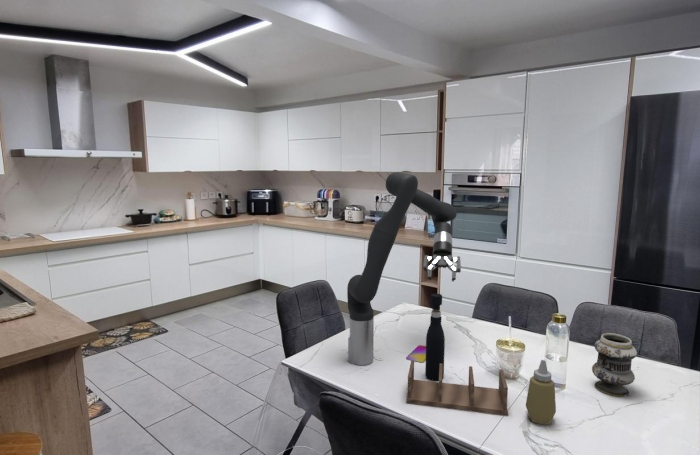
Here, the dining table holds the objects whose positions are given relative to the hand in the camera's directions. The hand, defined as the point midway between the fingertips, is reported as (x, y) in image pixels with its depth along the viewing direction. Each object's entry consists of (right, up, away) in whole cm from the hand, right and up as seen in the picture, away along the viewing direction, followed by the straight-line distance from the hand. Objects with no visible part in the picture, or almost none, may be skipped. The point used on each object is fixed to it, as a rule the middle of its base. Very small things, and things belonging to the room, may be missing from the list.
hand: (441, 279), depth 157 cm
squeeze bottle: (+21, -36, -37) cm, 56 cm away
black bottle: (-5, -33, -11) cm, 36 cm away
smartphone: (-7, -31, +7) cm, 33 cm away
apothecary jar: (+53, -34, -20) cm, 66 cm away
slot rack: (-1, -35, -26) cm, 43 cm away
